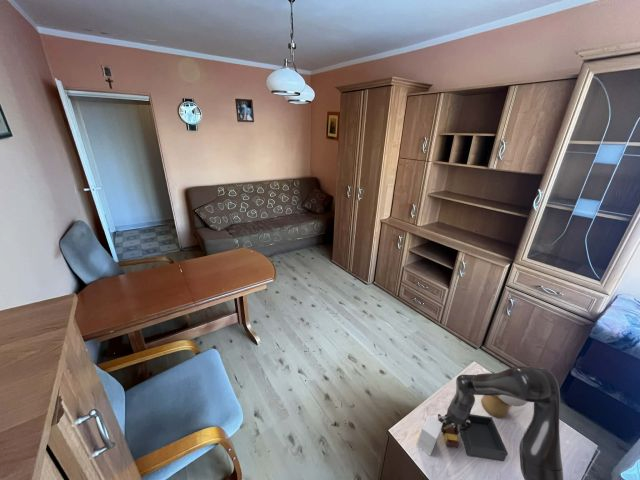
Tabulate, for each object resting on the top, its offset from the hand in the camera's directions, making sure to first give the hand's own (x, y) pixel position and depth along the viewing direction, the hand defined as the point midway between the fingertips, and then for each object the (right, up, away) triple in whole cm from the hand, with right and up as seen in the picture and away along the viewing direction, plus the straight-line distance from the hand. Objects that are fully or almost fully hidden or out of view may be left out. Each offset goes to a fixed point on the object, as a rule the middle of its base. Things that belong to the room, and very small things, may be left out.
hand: (448, 432), depth 119 cm
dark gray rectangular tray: (+13, -3, -1) cm, 13 cm away
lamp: (+29, +2, +11) cm, 32 cm away
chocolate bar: (0, -1, 0) cm, 1 cm away
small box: (-12, -3, -3) cm, 12 cm away
